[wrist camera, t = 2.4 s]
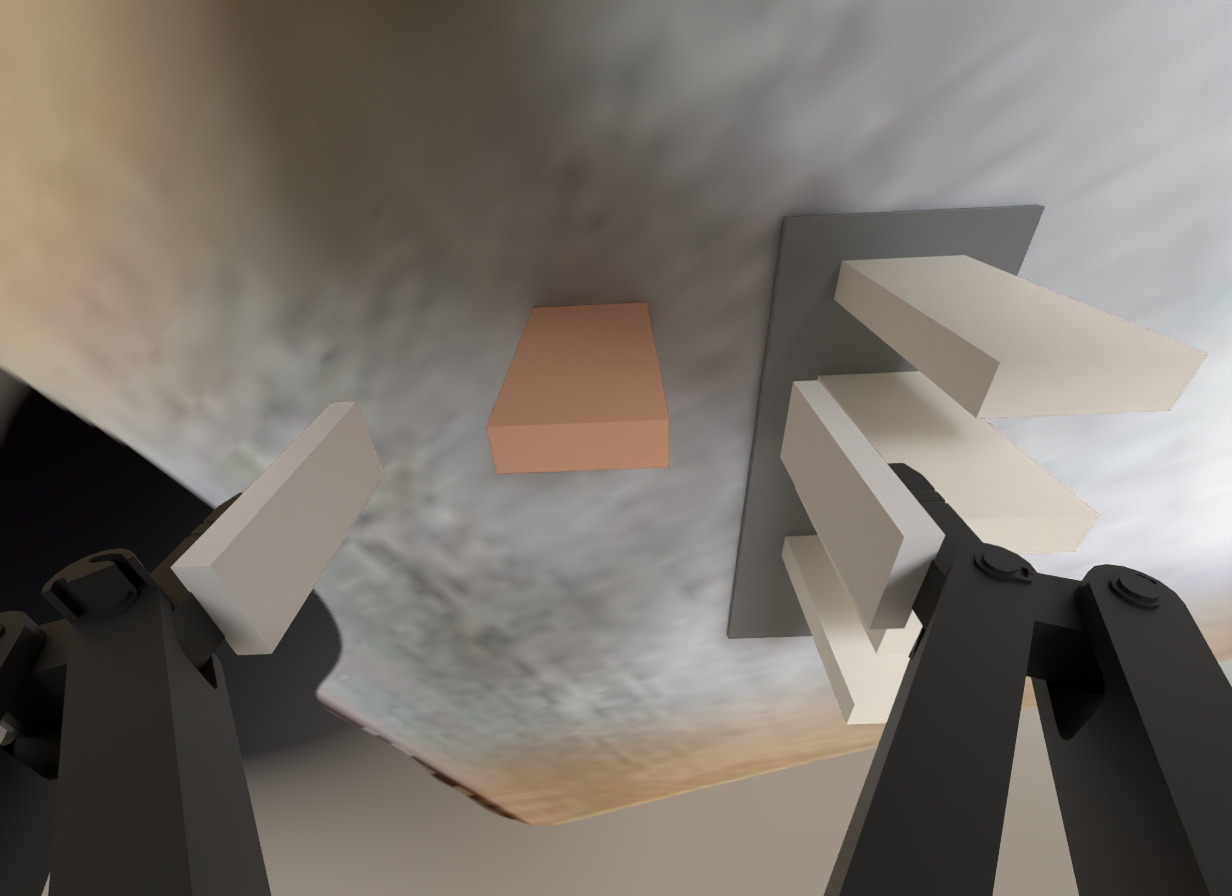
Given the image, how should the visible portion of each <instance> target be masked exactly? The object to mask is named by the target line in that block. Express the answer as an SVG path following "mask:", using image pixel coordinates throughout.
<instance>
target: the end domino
mask: <svg viewBox="0 0 1232 896" xmlns="http://www.w3.org/2000/svg"><path fill="white" fill-rule="evenodd" d="M486 429H487V433H488V438H489V442H490V447H491V451H492V456H493V460H494V465H495V469H496V474H507V473H532V472H557V471H582V470H607V469H632V468H657V467H669V429H670V418H669V413H668V408H667V403H666V398H665V393H664V387H663V382H662V377H661V372H660V367H659V362H658V357H657V351H656V346H655V341H654V336H653V331H652V326H651V320H650V315H649V310H648V305H647V302H643V303H621V304H598V305H576V306H554V307H533V309H532V312H531V314H530V317H529V319H528V322H527V325H526V327H525V330H524V332H523V335H522V337H521V340H520V342H519V345H518V347H517V350H516V352H515V355H514V358H513V360H512V363H511V365H510V368H509V370H508V373H507V375H506V378H505V380H504V383H503V386H502V388H501V391H500V393H499V396H498V398H497V401H496V403H495V406H494V408H493V411H492V413H491V416H490V419H489V421H488V424H487V426H486Z"/></svg>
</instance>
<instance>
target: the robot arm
mask: <svg viewBox="0 0 1232 896" xmlns="http://www.w3.org/2000/svg"><path fill="white" fill-rule="evenodd" d="M780 458H781V460H782V462H783V464H784V466H785V468H786V469H787V471H788V473H789V475H790V477H791V479H792V481H793V483H794V485H795V487H796V489H797V491H798V493H799V495H800V497H801V499H802V501H803V502H804V504H805V506H806V508H807V510H808V512H809V514H810V516H811V518H812V520H813V522H814V524H815V526H816V528H817V530H818V532H819V533H820V535H821V537H822V539H823V541H824V543H825V545H826V547H827V549H828V551H829V553H830V555H831V557H832V559H833V561H834V563H835V564H836V566H837V568H838V570H839V572H840V574H841V576H842V578H843V580H844V582H845V584H846V586H847V588H848V590H849V592H850V594H851V596H852V597H853V599H854V601H855V603H856V605H857V607H858V609H859V611H860V613H861V615H862V617H863V619H864V621H865V623H866V625H867V627H868V628H869V630H877V629H902V628H905V626H906V624H907V622H908V619H909V617H910V615H911V612H912V610H913V611H914V613H915V614H916V616H917V618H918V619H919V621H920V622H921V624H922V629H921V631H920V633H919V635H918V637H917V639H916V641H915V643H914V646H913V648H912V650H911V652H910V654H909V656H908V657H909V658H910V660H909V662H908V665H907V668H906V671H905V673H904V676H903V679H902V682H901V684H900V687H899V690H898V693H897V695H896V698H895V701H894V704H893V706H892V709H891V712H890V715H889V717H888V720H887V723H886V726H885V728H884V731H883V734H882V737H881V739H880V742H879V745H878V748H877V751H876V753H875V756H874V759H873V761H872V764H871V767H870V770H869V772H868V775H867V778H866V780H865V783H864V786H863V789H862V792H861V794H860V797H859V800H858V802H857V805H856V808H855V811H854V814H853V816H852V819H851V822H850V825H849V827H848V830H847V833H846V835H845V838H844V841H843V844H842V847H841V849H840V852H839V855H838V857H837V860H836V863H835V866H834V869H833V871H832V874H831V877H830V880H829V882H828V885H827V888H826V890H825V893H824V896H992V894H993V887H994V881H995V874H996V868H997V861H998V855H999V848H1000V842H1001V835H1002V829H1003V822H1004V816H1005V808H1006V803H1007V796H1008V789H1009V782H1010V777H1011V770H1012V763H1013V757H1014V750H1015V743H1016V737H1017V731H1018V724H1019V717H1020V711H1021V705H1022V698H1023V692H1024V685H1025V679H1026V676H1029V677H1031V679H1032V684H1033V688H1034V693H1035V697H1036V702H1037V706H1038V711H1039V715H1040V720H1041V724H1042V729H1043V733H1044V738H1045V742H1046V747H1047V751H1048V756H1049V761H1050V765H1051V769H1052V774H1053V778H1054V783H1055V787H1056V792H1057V797H1058V801H1059V806H1060V810H1061V814H1062V819H1063V824H1064V828H1065V832H1066V837H1067V842H1068V846H1069V851H1070V856H1071V860H1072V865H1073V869H1074V874H1075V878H1076V883H1077V887H1078V891H1079V896H1232V687H1231V685H1230V683H1229V682H1228V680H1227V678H1226V676H1225V674H1224V673H1223V671H1222V669H1221V667H1220V666H1219V664H1218V662H1217V660H1216V658H1215V657H1214V655H1213V653H1212V651H1211V649H1210V648H1209V646H1208V644H1207V642H1206V641H1205V639H1204V637H1203V635H1202V633H1201V632H1200V630H1199V628H1198V626H1197V625H1196V623H1195V621H1194V619H1193V617H1192V616H1191V614H1190V612H1189V610H1188V609H1187V607H1186V605H1185V604H1184V602H1183V601H1182V600H1181V599H1180V598H1179V596H1178V595H1177V594H1176V593H1175V592H1174V591H1172V590H1171V589H1170V588H1168V587H1167V586H1166V585H1164V584H1163V583H1161V582H1160V581H1158V580H1156V579H1154V578H1153V577H1151V576H1148V575H1146V574H1144V573H1142V572H1139V571H1136V570H1133V569H1130V568H1127V567H1124V566H1116V565H1109V564H1105V565H1098V566H1094V567H1093V568H1092V569H1091V570H1090V571H1088V573H1087V574H1086V575H1085V577H1084V578H1083V580H1082V581H1078V580H1073V579H1067V578H1062V577H1056V576H1051V575H1046V574H1040V573H1037V572H1036V570H1035V569H1034V568H1033V567H1032V565H1031V564H1030V563H1029V562H1027V561H1026V560H1025V559H1023V558H1022V557H1020V556H1019V555H1018V554H1016V553H1014V552H1012V551H1009V550H1007V549H1005V548H1003V547H1000V546H996V545H992V544H988V543H983V542H982V541H981V540H980V538H979V537H978V536H977V535H976V534H975V533H974V532H973V531H972V530H971V528H970V527H969V526H968V525H967V524H966V523H965V522H964V521H963V519H962V518H961V517H960V516H959V515H958V514H957V513H956V512H955V510H954V509H953V508H952V507H951V506H950V505H949V504H948V503H945V499H944V498H943V497H942V496H941V495H940V494H939V493H938V491H937V492H935V488H934V487H933V486H932V485H931V484H930V482H929V481H928V480H927V479H926V478H925V477H924V476H923V475H922V474H921V473H919V472H917V471H916V470H914V469H913V468H911V467H909V466H908V465H906V464H904V463H886V462H885V461H884V459H883V458H882V457H881V456H880V454H879V453H878V452H877V451H876V450H875V448H874V447H873V446H872V445H871V443H870V442H869V441H868V440H867V439H866V437H865V436H864V435H863V434H862V432H861V431H860V430H859V429H858V428H857V426H856V425H855V424H854V423H853V421H852V420H851V419H850V418H849V417H848V415H847V414H846V413H845V412H844V410H843V409H842V408H841V407H840V406H839V404H838V403H837V402H836V401H835V399H834V398H833V397H832V396H831V395H830V393H829V392H828V391H827V390H826V388H825V387H824V386H823V385H822V384H821V382H820V381H819V380H814V381H793V385H792V391H791V397H790V403H789V409H788V415H787V421H786V426H785V432H784V438H783V444H782V450H781V456H780ZM383 476H384V472H383V470H382V467H381V464H380V461H379V459H378V456H377V453H376V451H375V448H374V445H373V443H372V440H371V437H370V435H369V432H368V429H367V427H366V424H365V421H364V418H363V416H362V413H361V410H360V408H359V405H358V402H357V401H349V402H332V403H331V404H330V405H329V406H328V407H327V408H326V409H325V410H324V411H323V412H322V413H321V414H320V415H319V416H318V417H317V418H316V419H315V420H314V421H313V422H312V423H311V424H310V425H309V426H308V427H307V428H306V429H305V430H304V431H303V432H302V433H301V434H300V435H299V436H298V437H297V438H296V439H295V440H294V441H293V443H292V444H291V445H290V446H289V447H288V448H287V449H286V450H285V451H284V452H283V453H282V454H281V455H280V456H279V457H278V458H277V459H276V460H275V461H274V462H273V463H272V464H271V465H270V466H269V467H268V468H267V469H266V470H265V471H264V472H263V473H262V474H261V475H260V476H259V477H258V478H257V479H256V480H255V481H254V482H253V483H252V484H251V485H250V487H249V488H248V489H247V490H246V491H245V492H244V493H239V494H237V495H236V496H234V497H232V498H231V499H229V500H228V501H226V502H224V503H223V504H221V505H220V506H218V507H217V508H216V509H215V510H214V511H213V512H212V513H211V514H210V515H209V516H208V517H207V518H206V519H205V520H204V521H203V522H204V523H203V524H200V525H199V526H198V527H197V528H196V529H195V530H194V531H193V532H192V533H191V537H187V538H186V539H185V540H184V541H183V542H182V543H181V544H180V545H179V546H178V547H177V548H176V549H175V550H174V551H173V552H172V553H171V554H170V555H169V556H168V557H167V558H166V559H165V560H164V561H163V562H162V563H161V564H160V565H159V566H158V567H157V568H156V569H155V570H154V571H153V572H152V573H151V574H149V573H148V571H147V570H146V569H145V568H144V566H143V565H142V564H141V563H140V562H139V560H138V559H137V558H136V556H135V555H134V554H133V553H132V552H131V551H130V550H126V549H112V550H106V551H103V552H99V553H96V554H93V555H90V556H87V557H85V558H83V559H81V560H79V561H77V562H75V563H72V564H71V565H69V566H68V567H66V568H65V569H63V570H62V571H60V572H58V573H57V574H56V575H55V576H54V577H53V578H51V579H50V580H49V581H48V582H47V583H46V584H45V586H44V588H43V590H42V592H41V595H42V596H44V598H46V599H47V600H48V601H49V602H50V603H51V604H52V605H53V606H54V607H55V608H56V609H57V610H58V611H59V612H60V613H61V614H62V615H63V616H64V617H65V618H66V619H63V620H60V621H55V622H52V623H48V624H44V625H40V626H37V625H36V624H35V623H34V622H33V621H32V620H31V619H30V618H29V617H27V615H26V614H25V613H23V612H21V611H8V612H3V613H0V725H1V726H2V727H3V728H5V729H6V730H7V733H6V735H5V737H4V739H3V741H2V742H1V744H0V896H41V895H42V892H43V890H44V887H45V884H46V881H47V878H48V876H49V873H50V881H49V893H48V896H271V892H270V888H269V883H268V879H267V874H266V869H265V865H264V860H263V855H262V851H261V846H260V841H259V837H258V832H257V827H256V823H255V818H254V813H253V809H252V804H251V800H250V795H249V790H248V786H247V781H246V776H245V772H244V768H243V763H242V758H241V753H240V749H239V744H238V740H237V735H236V730H235V726H234V722H233V716H232V712H231V707H230V703H229V698H228V693H227V689H226V684H225V679H224V675H223V670H222V665H221V663H220V661H219V660H218V658H217V657H216V656H215V654H214V652H215V650H216V649H217V648H218V646H219V645H220V643H221V642H222V641H223V639H224V638H225V639H226V641H227V642H228V643H229V645H230V646H231V647H232V649H233V650H234V651H235V653H237V655H250V654H272V652H273V651H274V649H275V648H276V646H277V645H278V643H279V641H280V640H281V638H282V637H283V635H284V633H285V632H286V630H287V629H288V627H289V626H290V624H291V622H292V621H293V619H294V618H295V616H296V614H297V613H298V611H299V610H300V608H301V606H302V605H303V603H304V602H305V600H306V598H307V597H308V595H309V594H310V592H311V590H312V589H313V587H314V586H315V584H316V583H317V581H318V579H319V578H320V576H321V575H322V573H323V571H324V570H325V568H326V567H327V565H328V563H329V562H330V560H331V559H332V557H333V556H334V554H335V552H336V551H337V549H338V548H339V546H340V544H341V543H342V541H343V540H344V538H345V536H346V535H347V533H348V532H349V530H350V529H351V527H352V525H353V524H354V522H355V521H356V519H357V517H358V516H359V514H360V513H361V511H362V509H363V508H364V506H365V505H366V503H367V501H368V500H369V498H370V497H371V495H372V494H373V492H374V490H375V489H376V487H377V486H378V484H379V482H380V481H381V479H382V478H383Z"/></svg>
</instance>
